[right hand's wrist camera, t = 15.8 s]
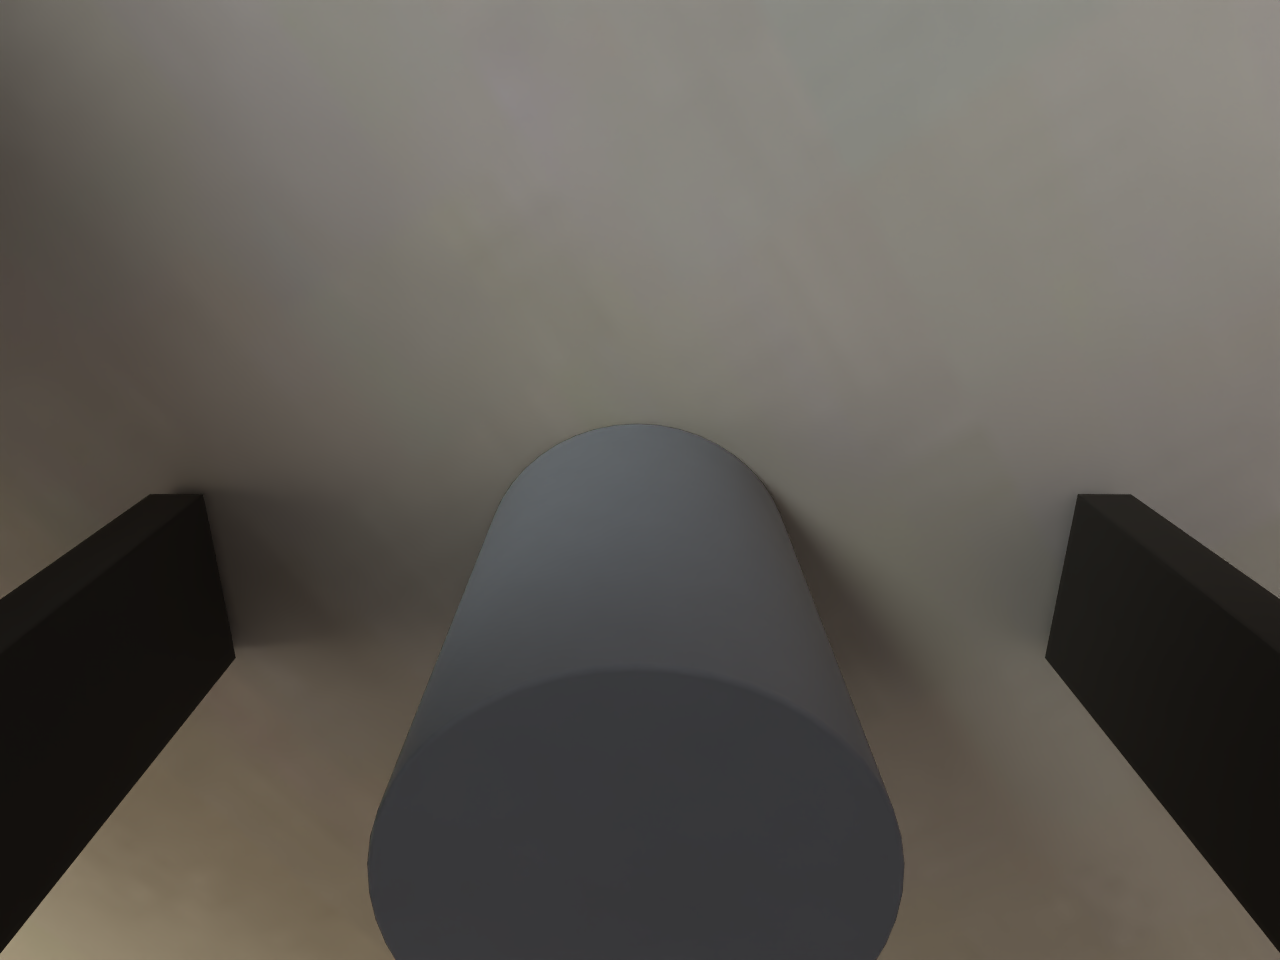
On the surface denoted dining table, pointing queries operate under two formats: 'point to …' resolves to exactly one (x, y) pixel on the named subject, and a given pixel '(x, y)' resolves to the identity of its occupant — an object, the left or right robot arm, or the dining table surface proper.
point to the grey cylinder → (636, 734)
